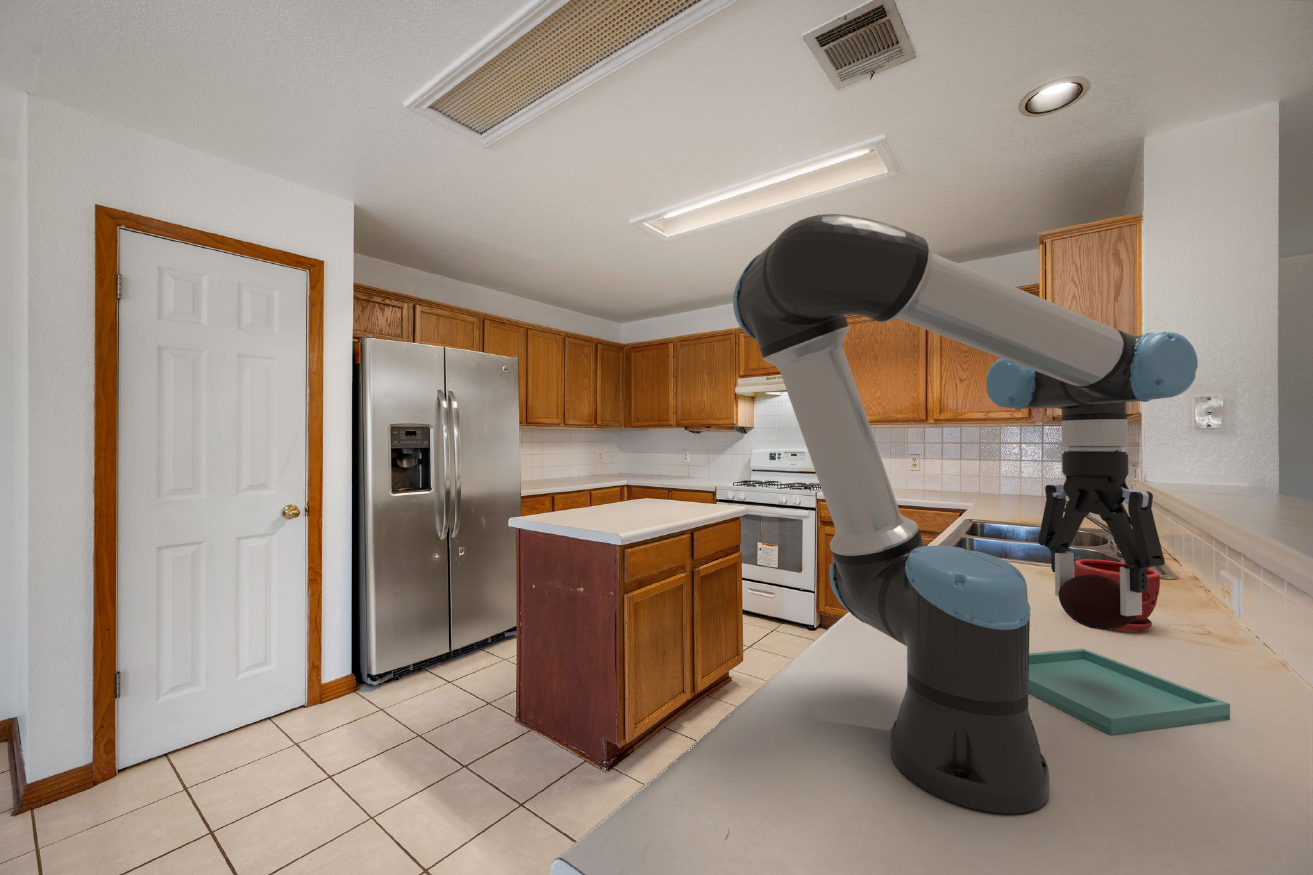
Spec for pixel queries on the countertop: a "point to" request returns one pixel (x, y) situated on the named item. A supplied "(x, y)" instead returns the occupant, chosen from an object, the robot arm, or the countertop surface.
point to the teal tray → (1117, 693)
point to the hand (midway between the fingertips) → (1096, 604)
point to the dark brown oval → (1093, 602)
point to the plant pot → (1113, 572)
